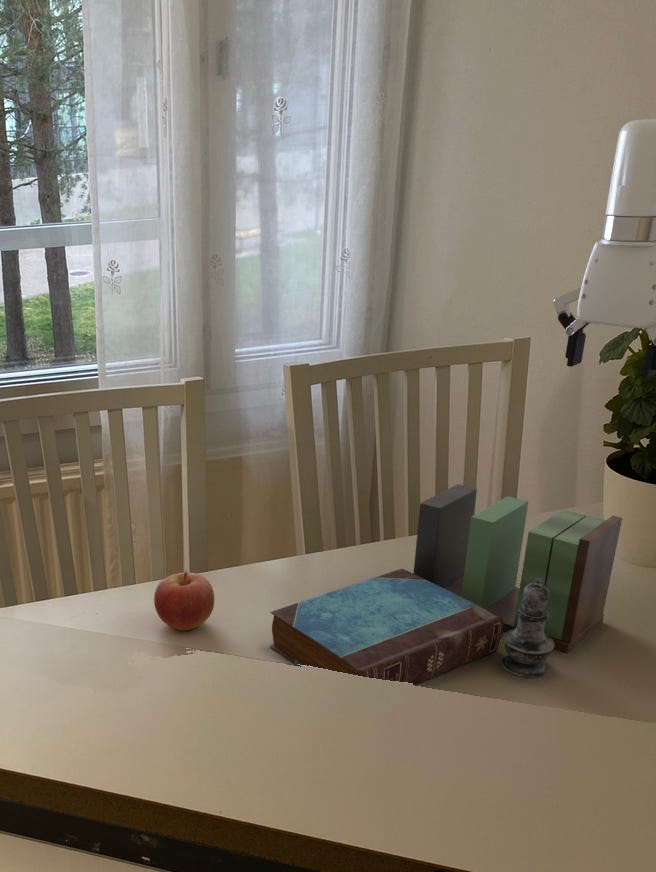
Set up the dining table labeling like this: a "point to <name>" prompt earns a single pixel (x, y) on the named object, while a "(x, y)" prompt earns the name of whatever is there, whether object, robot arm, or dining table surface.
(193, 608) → the apple
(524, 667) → the grey chess piece
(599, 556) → the book rack
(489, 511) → the green book
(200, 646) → the dining table surface
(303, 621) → the book
